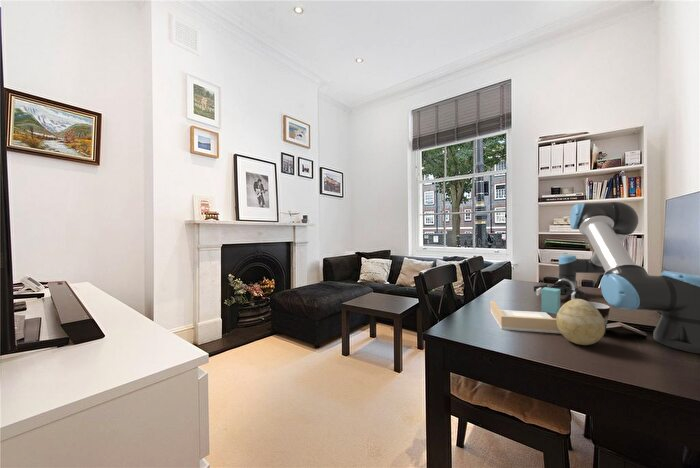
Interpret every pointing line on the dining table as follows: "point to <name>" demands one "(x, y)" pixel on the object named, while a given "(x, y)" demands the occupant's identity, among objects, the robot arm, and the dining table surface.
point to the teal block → (550, 300)
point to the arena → (524, 320)
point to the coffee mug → (602, 311)
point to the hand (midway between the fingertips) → (554, 295)
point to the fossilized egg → (580, 322)
